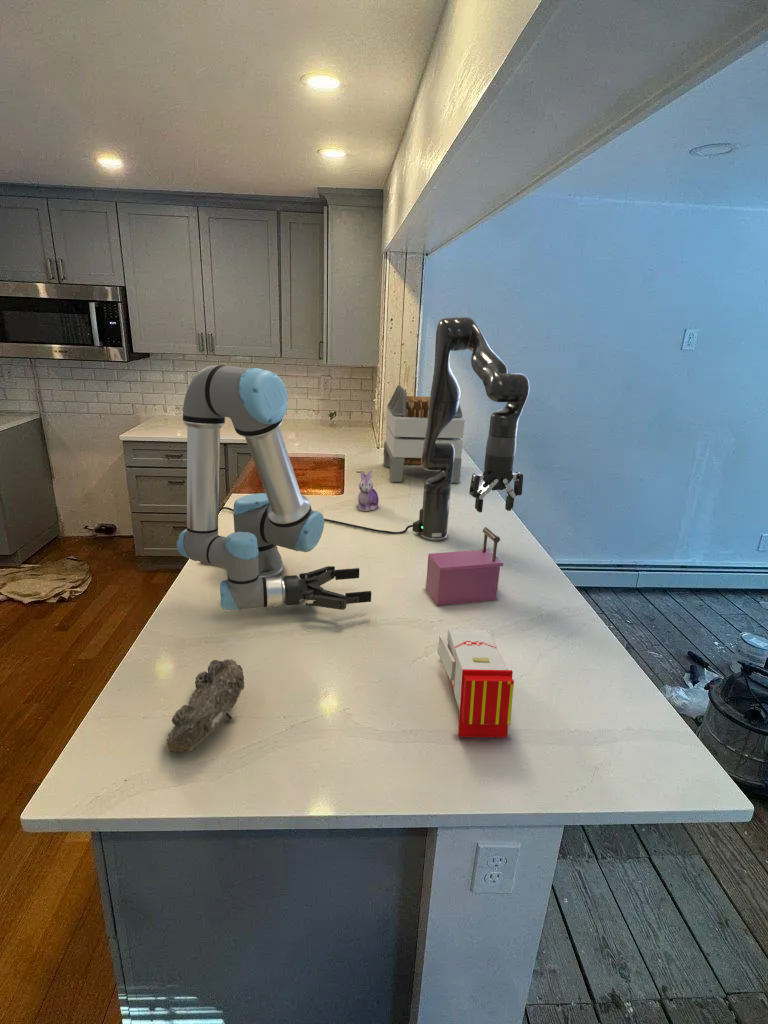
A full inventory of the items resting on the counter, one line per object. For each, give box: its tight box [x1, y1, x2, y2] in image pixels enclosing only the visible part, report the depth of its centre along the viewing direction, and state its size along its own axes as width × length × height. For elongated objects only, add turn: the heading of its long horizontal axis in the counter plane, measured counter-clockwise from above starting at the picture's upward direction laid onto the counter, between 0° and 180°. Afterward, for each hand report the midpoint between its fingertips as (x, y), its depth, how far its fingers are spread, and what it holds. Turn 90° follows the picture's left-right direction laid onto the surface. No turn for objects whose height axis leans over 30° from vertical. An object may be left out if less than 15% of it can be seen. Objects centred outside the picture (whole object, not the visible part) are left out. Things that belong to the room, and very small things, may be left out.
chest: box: [425, 556, 501, 607], centre depth 157 cm, size 18×9×10 cm, turn 105°
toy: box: [437, 628, 515, 738], centre depth 117 cm, size 12×13×30 cm
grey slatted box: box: [383, 384, 465, 484], centre depth 268 cm, size 34×33×41 cm
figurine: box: [357, 470, 380, 512], centre depth 221 cm, size 9×10×15 cm
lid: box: [427, 526, 504, 572], centre depth 154 cm, size 18×9×8 cm, turn 105°
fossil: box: [166, 658, 245, 754], centre depth 106 cm, size 22×10×15 cm
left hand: (364, 584), depth 150 cm, fingers open, 13 cm apart
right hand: (493, 510), depth 153 cm, fingers open, 8 cm apart
